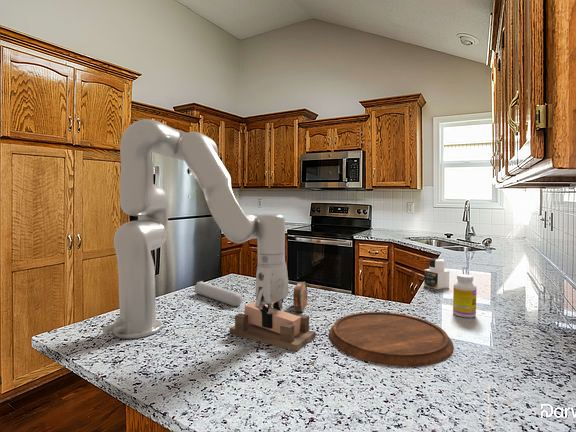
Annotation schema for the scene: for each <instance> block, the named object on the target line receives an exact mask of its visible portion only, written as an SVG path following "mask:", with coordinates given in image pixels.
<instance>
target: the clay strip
mask: <svg viewBox="0 0 576 432" xmlns="http://www.w3.org/2000/svg"><path fill="white" fill-rule="evenodd" d="M255 304H256V301H252V302H249V303H247V304H245V305H244V312H243V314H245V315H248V322H249V323H252V324H254V325H257V326H260V327H262V313H261V312H260V309H258V308H256V307H255ZM265 306H266V307H267V308H268V305H265ZM271 314H273V315H272V324H273V327H272V328H271V329H270V328H266V327H263V328H265V329H268V330H271V331H274V332H276V333H279V334H280V325H282V324H284V323H286V324H290V325H294V336H296V335H297V334H299V333H300V322H301V317H300V316H298V315H296V314H293V313H291V312H290V313H289V312H286V311H284V310H282V309H281V310H277V309H274V308H273V307H272V308H271Z"/></svg>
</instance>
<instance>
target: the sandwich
mask: <svg viewBox="0 0 576 432" xmlns="http://www.w3.org/2000/svg"><path fill="white" fill-rule="evenodd" d="M292 294H293V295H292V297H293V308H294V312H295V313H296V312H298V313H304V311H305V309H306V307H307V305H308V285H307V281H298V282H297V284H296V285H295V287H294V289H293V293H292Z"/></svg>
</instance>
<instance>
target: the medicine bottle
mask: <svg viewBox="0 0 576 432" xmlns="http://www.w3.org/2000/svg"><path fill="white" fill-rule="evenodd" d="M428 261H429V262H428V263H429V265H428V266H429V267H428V268H427V269H424V271H423V273H424V279H423V280H424V281H423V283H424V287H428V288H431V289H435V290H442V289H448V288H450V270H446V269H445V268H446V267H445V265H446V263H445V262H446V261H445V259H443V258H438V257H436V258H435V257H433V258H430V259H429V260H428Z"/></svg>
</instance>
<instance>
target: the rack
mask: <svg viewBox="0 0 576 432" xmlns="http://www.w3.org/2000/svg"><path fill="white" fill-rule="evenodd" d="M297 316H300V317H301V322H300V333H299V334H297V335H296V336H294V325H290V324H286V323H284V324H282V325H280V334H279V333H276V332H274V331H271V330H268V329H265V328H263V327H260V326H257V325H254V324H252V323H249V322H248V315H245V314H244V313H240V312H239V313H237V314H235V315H234V325H233V326H231V327H229V334H231V335H234V336H239V337H242V338H244V339H245V338H246V339H249V340H254V341H257V342H261V343H265V344H269V345H272V346H276V347H280V348H284V349H287V350H290V351H291V350H292V351H294V352H298V351H299V350H301V349H302V348H304V347H305V346H306V345H307V344H309V343H310V342H311V341H313V340H314V339H315V338H316V337H317V336H316V331H314V330H310V315H304V314H301V313H300V314H298V315H297Z"/></svg>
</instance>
